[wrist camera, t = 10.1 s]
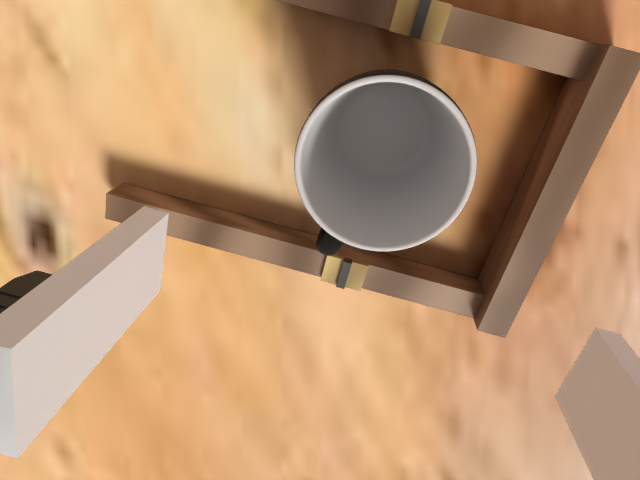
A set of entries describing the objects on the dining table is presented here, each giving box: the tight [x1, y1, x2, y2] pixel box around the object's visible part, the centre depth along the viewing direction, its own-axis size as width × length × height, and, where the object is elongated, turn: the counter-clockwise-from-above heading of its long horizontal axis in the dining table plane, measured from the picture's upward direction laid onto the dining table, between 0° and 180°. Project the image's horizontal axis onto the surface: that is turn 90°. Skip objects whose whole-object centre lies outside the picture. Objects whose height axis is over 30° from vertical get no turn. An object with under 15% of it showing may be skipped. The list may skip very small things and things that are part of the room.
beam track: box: [105, 0, 640, 338], centre depth 31 cm, size 30×19×4 cm, turn 77°
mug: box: [294, 70, 477, 256], centre depth 28 cm, size 12×9×10 cm
